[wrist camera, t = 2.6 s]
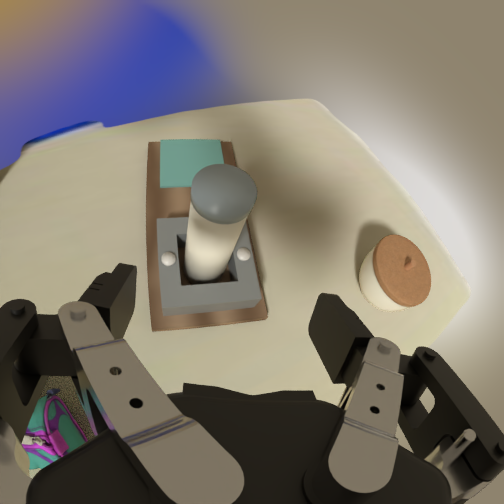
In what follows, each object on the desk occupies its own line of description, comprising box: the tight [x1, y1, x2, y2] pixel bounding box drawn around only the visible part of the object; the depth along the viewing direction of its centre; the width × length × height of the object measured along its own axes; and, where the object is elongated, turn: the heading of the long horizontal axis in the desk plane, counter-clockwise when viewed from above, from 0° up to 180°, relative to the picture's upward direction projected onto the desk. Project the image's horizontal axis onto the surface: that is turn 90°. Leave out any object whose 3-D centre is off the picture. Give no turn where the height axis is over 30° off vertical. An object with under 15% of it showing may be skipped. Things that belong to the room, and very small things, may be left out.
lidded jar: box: [359, 235, 431, 312], centre depth 39 cm, size 11×11×9 cm
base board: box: [146, 142, 268, 331], centre depth 40 cm, size 14×30×1 cm, turn 11°
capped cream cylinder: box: [184, 164, 257, 285], centre depth 29 cm, size 5×5×16 cm
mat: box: [160, 139, 224, 188], centre depth 43 cm, size 10×10×1 cm
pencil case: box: [22, 388, 88, 469], centre depth 17 cm, size 21×9×10 cm, turn 113°
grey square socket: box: [157, 217, 262, 316], centre depth 35 cm, size 11×11×4 cm
